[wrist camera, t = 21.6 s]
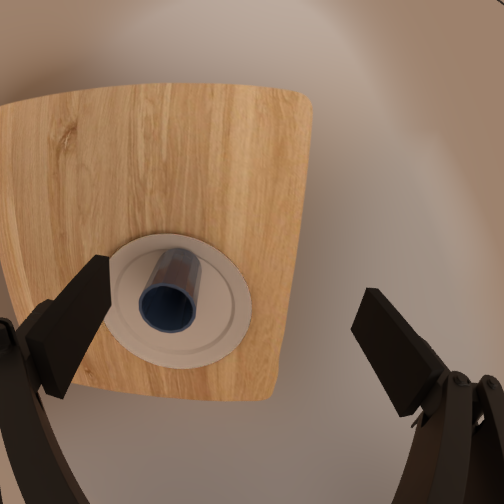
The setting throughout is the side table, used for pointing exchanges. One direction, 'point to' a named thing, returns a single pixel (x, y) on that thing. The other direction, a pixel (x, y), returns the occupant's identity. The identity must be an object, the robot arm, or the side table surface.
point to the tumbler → (172, 292)
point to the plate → (208, 307)
